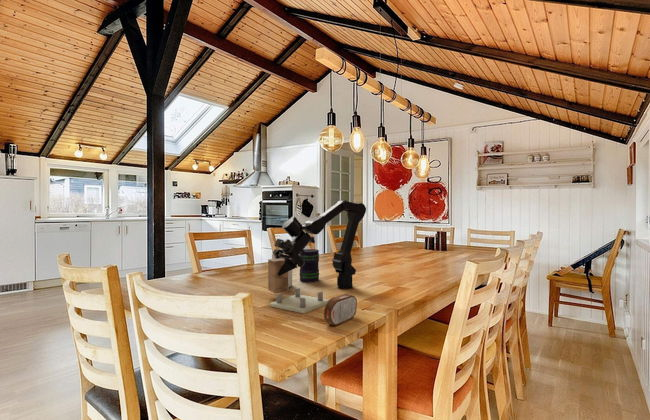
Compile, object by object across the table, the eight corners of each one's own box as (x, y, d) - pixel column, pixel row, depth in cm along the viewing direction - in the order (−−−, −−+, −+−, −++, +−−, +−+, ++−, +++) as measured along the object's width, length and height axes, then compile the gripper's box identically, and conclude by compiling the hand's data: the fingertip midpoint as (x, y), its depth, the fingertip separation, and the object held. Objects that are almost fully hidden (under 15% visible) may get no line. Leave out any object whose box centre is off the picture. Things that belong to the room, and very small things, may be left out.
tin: (351, 315, 123) (351, 290, 123) (358, 317, 121) (358, 292, 121) (323, 327, 111) (322, 299, 111) (331, 329, 109) (330, 301, 109)
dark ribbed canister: (316, 282, 173) (316, 251, 173) (297, 282, 175) (296, 251, 175) (321, 278, 183) (321, 249, 182) (302, 277, 185) (302, 248, 184)
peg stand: (296, 296, 147) (296, 286, 147) (329, 302, 138) (329, 291, 138) (269, 306, 134) (269, 295, 134) (304, 313, 125) (304, 301, 125)
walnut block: (281, 288, 149) (281, 258, 149) (288, 291, 144) (288, 260, 144) (268, 290, 146) (268, 259, 146) (274, 293, 141) (274, 261, 141)
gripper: (276, 230, 155) (252, 258, 149) (297, 233, 139) (271, 264, 133) (292, 247, 159) (270, 274, 154) (314, 251, 144) (290, 282, 138)
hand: (275, 273), depth 144 cm, fingers closed on walnut block, 6 cm apart
